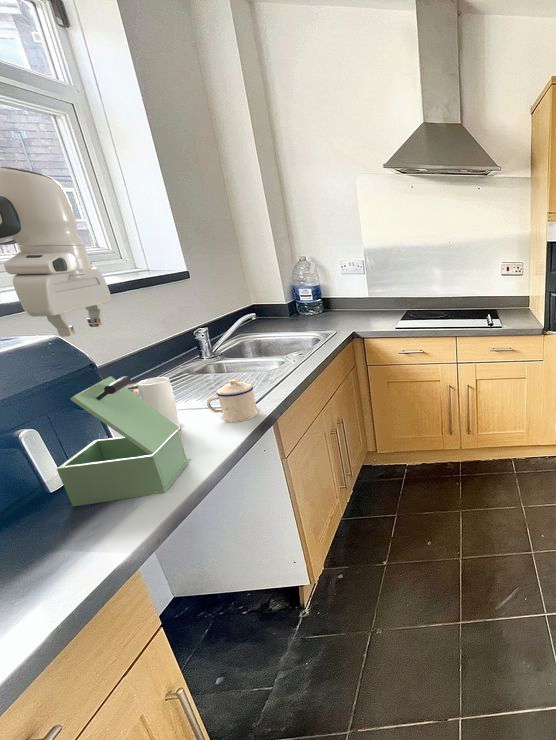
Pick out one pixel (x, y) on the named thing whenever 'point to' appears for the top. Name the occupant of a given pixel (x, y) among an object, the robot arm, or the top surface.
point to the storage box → (121, 470)
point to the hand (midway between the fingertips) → (83, 330)
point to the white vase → (159, 397)
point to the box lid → (126, 413)
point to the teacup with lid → (235, 401)
